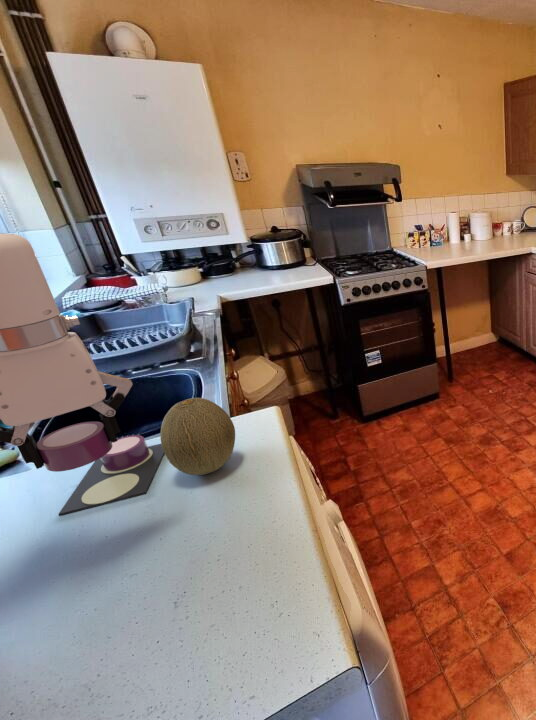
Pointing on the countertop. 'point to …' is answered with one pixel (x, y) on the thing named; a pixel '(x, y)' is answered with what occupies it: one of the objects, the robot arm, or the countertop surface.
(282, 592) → the countertop surface
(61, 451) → the dish
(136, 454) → the dish
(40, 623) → the countertop surface
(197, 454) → the fruit
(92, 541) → the countertop surface
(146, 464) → the mat
